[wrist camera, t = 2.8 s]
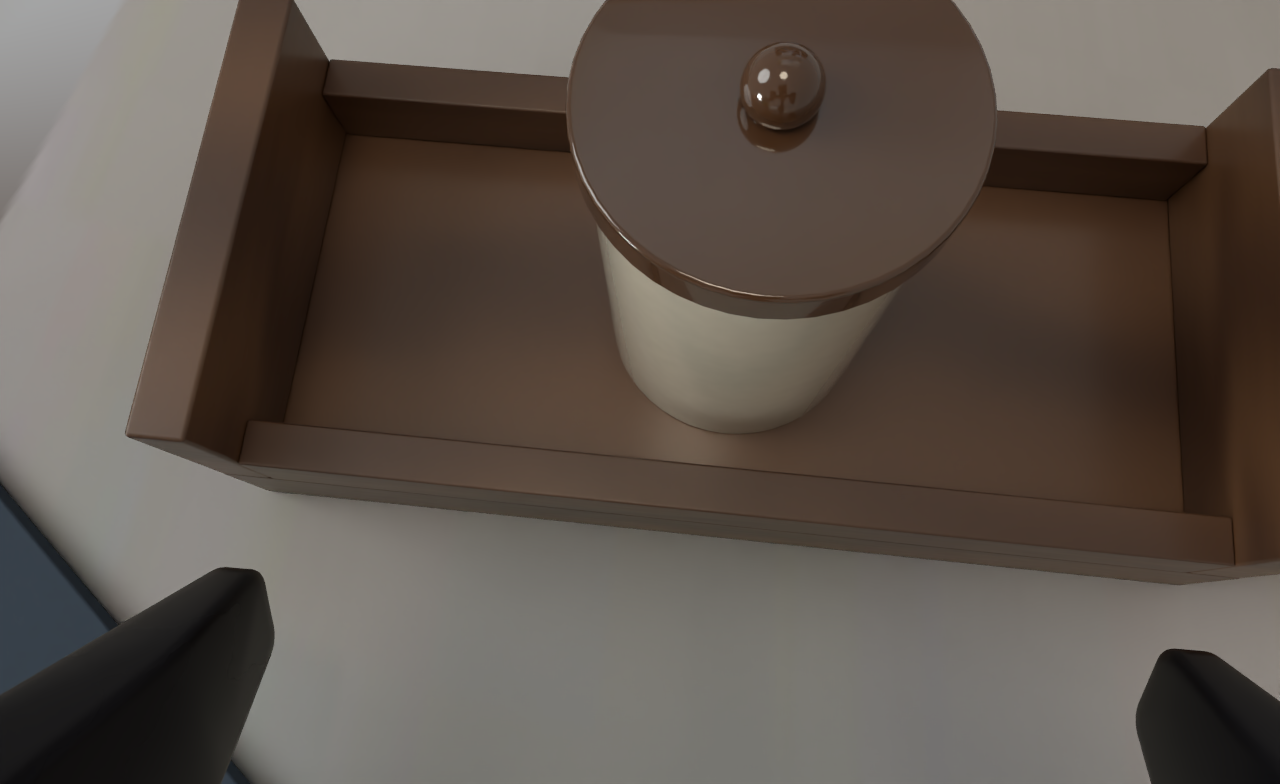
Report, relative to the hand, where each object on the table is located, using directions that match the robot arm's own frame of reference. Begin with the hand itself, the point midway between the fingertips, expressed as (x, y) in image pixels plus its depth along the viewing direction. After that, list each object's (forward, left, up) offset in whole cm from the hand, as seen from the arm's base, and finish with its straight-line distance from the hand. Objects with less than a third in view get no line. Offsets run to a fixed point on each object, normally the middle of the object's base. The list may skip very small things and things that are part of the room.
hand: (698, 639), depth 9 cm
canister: (+4, -6, -11) cm, 13 cm away
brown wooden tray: (+4, -6, -13) cm, 15 cm away
